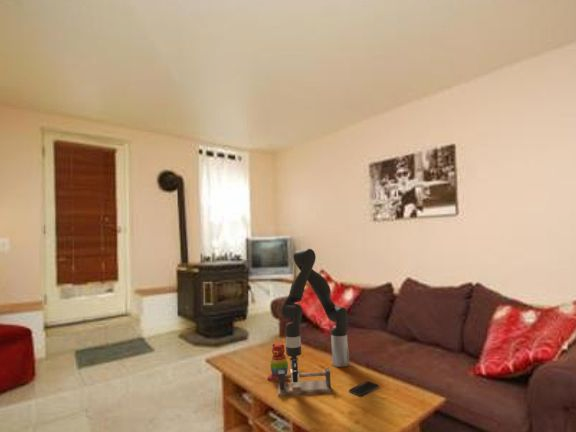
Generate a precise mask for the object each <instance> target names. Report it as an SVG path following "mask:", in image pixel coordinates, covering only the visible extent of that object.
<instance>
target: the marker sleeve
mask: <svg viewBox="0 0 576 432" xmlns="http://www.w3.org/2000/svg"><path fill="white" fill-rule="evenodd" d="M289 371H290V373H289V374H291V378H290V382H291V383H300V382H301V381H300V377H299V374H300V371H299V369H298V374H297V378H298V382H293V374H292V369H291V368H290V369H289ZM294 372H296V370H294Z"/></svg>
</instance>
